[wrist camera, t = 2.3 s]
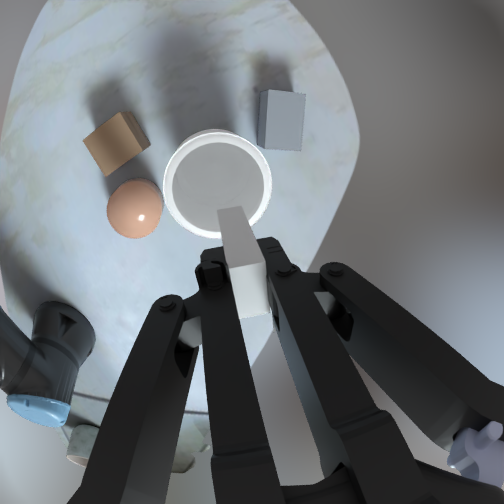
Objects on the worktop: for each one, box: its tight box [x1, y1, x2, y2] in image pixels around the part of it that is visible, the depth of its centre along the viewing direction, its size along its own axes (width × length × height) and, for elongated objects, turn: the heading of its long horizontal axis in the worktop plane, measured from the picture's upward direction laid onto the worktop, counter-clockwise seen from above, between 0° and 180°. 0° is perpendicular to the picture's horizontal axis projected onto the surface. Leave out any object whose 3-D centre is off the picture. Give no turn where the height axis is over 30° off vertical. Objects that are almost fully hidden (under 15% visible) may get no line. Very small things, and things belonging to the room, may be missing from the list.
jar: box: [163, 129, 272, 239], centre depth 31 cm, size 11×10×15 cm
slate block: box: [257, 89, 306, 151], centre depth 34 cm, size 5×8×5 cm, turn 176°
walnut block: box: [83, 112, 151, 177], centre depth 31 cm, size 6×6×6 cm
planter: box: [66, 424, 99, 467], centre depth 63 cm, size 17×17×15 cm
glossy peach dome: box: [107, 178, 164, 238], centre depth 37 cm, size 8×8×4 cm
